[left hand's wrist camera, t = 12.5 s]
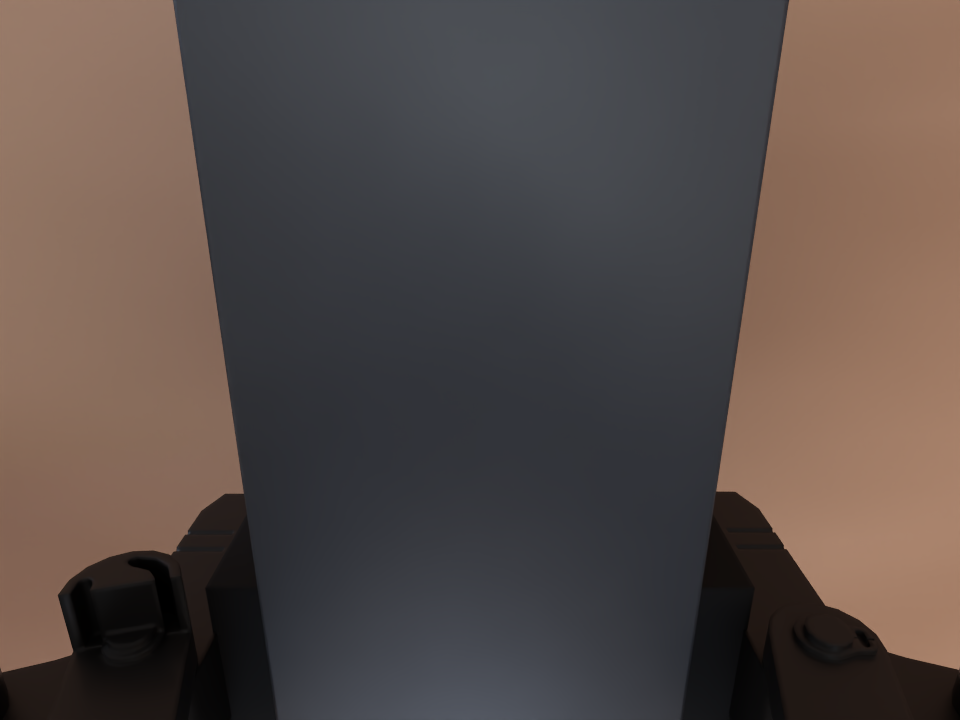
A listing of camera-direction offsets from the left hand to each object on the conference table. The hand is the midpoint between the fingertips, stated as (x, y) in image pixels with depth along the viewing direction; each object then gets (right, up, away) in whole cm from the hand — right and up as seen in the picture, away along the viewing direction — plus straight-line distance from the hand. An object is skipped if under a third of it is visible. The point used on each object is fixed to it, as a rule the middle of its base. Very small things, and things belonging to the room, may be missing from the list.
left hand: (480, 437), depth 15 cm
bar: (0, +21, -7) cm, 22 cm away
